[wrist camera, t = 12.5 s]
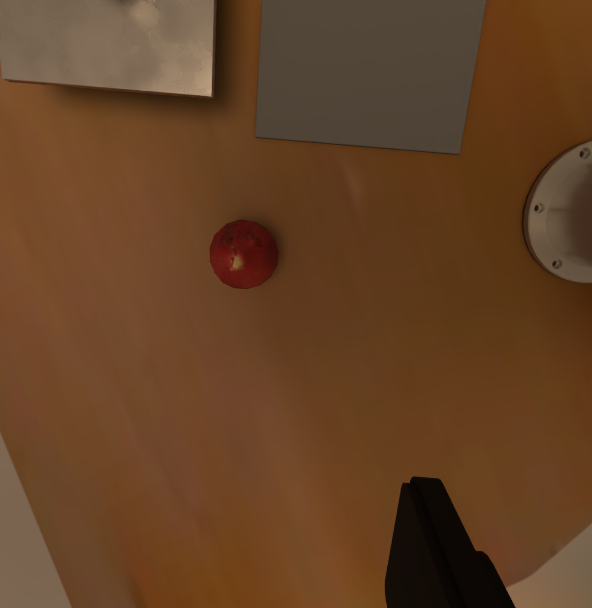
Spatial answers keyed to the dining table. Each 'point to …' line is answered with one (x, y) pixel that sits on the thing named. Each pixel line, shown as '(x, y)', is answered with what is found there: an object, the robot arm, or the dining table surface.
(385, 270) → the dining table surface
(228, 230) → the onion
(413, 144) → the mat
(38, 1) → the lid
